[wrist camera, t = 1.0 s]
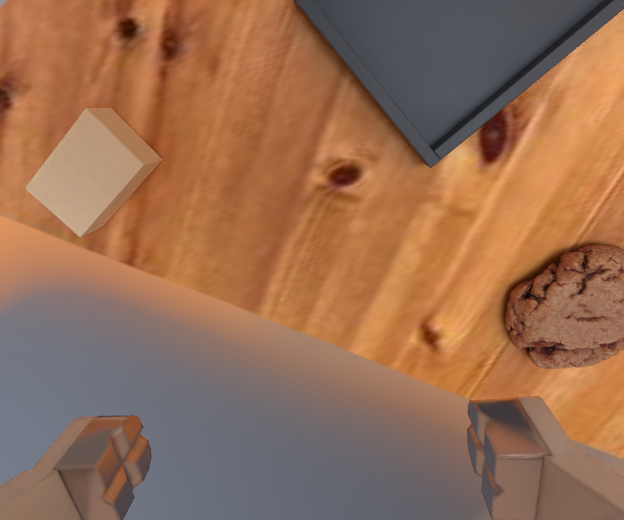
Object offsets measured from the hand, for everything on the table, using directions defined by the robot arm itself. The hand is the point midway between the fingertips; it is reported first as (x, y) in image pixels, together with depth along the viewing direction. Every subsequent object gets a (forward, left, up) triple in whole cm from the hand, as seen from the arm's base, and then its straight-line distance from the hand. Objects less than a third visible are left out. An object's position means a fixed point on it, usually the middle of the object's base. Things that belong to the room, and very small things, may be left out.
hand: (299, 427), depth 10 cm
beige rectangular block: (-14, -11, -22) cm, 28 cm away
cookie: (+18, +9, -22) cm, 30 cm away
